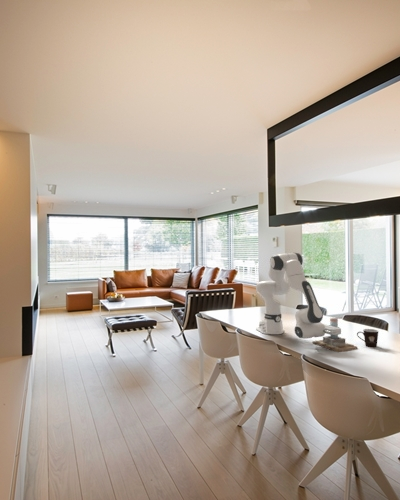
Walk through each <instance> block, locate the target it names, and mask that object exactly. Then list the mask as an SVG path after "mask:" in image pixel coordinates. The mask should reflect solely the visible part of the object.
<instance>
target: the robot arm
mask: <svg viewBox="0 0 400 500" xmlns="http://www.w3.org/2000/svg"><path fill="white" fill-rule="evenodd" d="M303 263H304V262H303V256H302V254H301V253H298V252H293V253H292V252H285V253H277V254H274V255H272V256H271V257H270V260H269V264H270V267H269V271H268V277H269V278H270V280H262V281H258V282H257V284H256V285H255V290H256V292H257V294H258V295H259V296H260V297H262V299H263V301H264V304H265V305H264V306H265V313H264V318H263V319H261V321H259V325H258V327H256V328H255V330H256V331H258V332H260V333H262V334H265V335H281V334H284V332H285V330H284V324H283V320H282V318H283V317H282V311H281V307H282V306H281V303H280V302H279V301H278V300H276V299H275V298H274V296H283V295H288V294H289V292H290V291H291V289H293V290H294V291H299V292H301V293H302V294H303V296H304V297H305V301H306V304H307V307H305V308H301V309H298V310H297V311H296V312H295V320H296V322H295V326H294V333H295V335H296V337H298V338H299V339H303V340H304V339H312V338H321V337H322V338H323V337H325V335H326V334H327V335H329V336H330V335H338V336H339V335H341V334H342V328H341V327H339V326H338V327H333V326H330V324H325V323H322V320H323V317H324V313H323V310H322V309H321V307H320V305H319V303H318V299H317V297H316V295H315V292H314V290H313V287H312V285H311V283H310V282H309V281H308V280H307V279H306V275H305V272H304V270H303V267H302V265H303ZM285 274H286V279H287V280H286V279H285Z"/></svg>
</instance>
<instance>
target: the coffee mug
mask: <svg viewBox="0 0 400 500" xmlns="http://www.w3.org/2000/svg"><path fill="white" fill-rule="evenodd" d="M359 334H362V335H363V338H364V339H363V338H361V336H359ZM356 336H357V337H358V338H359V339H360V340H362V341H363V342H364V344H365V346H366V347H367V348H373V349H374V348H378V339H379V330H378V329H375V328H374V329H373V328H365V329H364V328H363V331H358V332H357V333H356Z"/></svg>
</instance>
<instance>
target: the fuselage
mask: <svg viewBox="0 0 400 500" xmlns="http://www.w3.org/2000/svg"><path fill="white" fill-rule="evenodd" d="M329 320H330V321H329V322H330V323H329V325H330V326H333V327H339V326H338V324H339V323H338V321H339V320H338V317H330V318H329ZM329 336H330V337H331V339H334V340H335V339H338V337H339V335H330V334H329Z"/></svg>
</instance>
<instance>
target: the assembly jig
mask: <svg viewBox="0 0 400 500" xmlns="http://www.w3.org/2000/svg"><path fill="white" fill-rule="evenodd" d="M311 342H312V345H313V344H314V345H316V346H320V347H322V348H325V349H328V350H331V351H334V352H337V353H341V352H347V351H353V350H357V349H358V346H355V345H354V344H352V343H348V342H346V338H345V337H341V336H338V339H335V340H334V339H331V337H330V335H327V336H322V339H320V340H315V341H311Z"/></svg>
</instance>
